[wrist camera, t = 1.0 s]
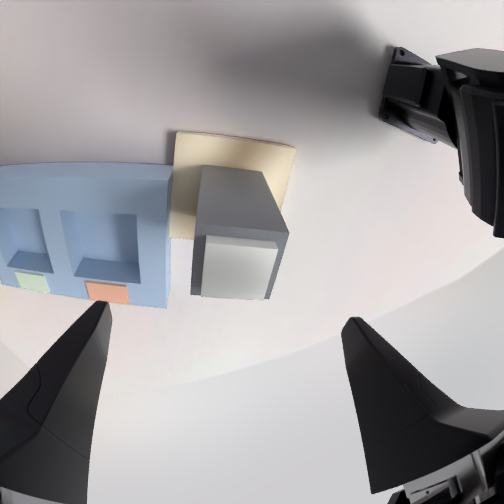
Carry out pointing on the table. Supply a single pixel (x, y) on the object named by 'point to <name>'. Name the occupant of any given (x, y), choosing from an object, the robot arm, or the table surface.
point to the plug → (236, 235)
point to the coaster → (226, 155)
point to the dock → (87, 230)
